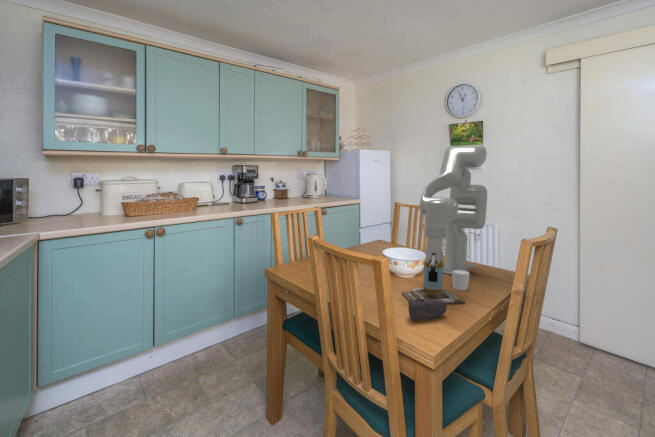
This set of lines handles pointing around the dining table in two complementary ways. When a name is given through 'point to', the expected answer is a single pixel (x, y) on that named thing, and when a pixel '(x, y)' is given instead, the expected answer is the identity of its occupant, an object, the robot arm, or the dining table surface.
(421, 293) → the dark rectangular tray
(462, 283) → the white cylinder
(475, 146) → the robot arm
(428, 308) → the perforated stone tool
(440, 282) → the bottle
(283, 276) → the dining table surface
